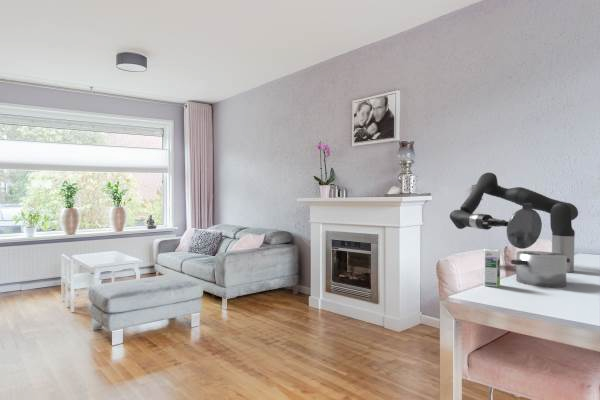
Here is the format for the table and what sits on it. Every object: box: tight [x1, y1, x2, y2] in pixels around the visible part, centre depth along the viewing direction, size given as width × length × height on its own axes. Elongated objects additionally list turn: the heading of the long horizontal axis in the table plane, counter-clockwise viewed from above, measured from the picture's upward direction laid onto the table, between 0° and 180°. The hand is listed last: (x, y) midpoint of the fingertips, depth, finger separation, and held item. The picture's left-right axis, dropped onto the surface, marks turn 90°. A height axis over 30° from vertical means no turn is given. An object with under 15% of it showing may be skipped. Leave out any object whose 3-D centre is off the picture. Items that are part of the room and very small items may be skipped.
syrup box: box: [483, 248, 501, 288], centre depth 163 cm, size 6×6×14 cm
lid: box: [506, 204, 543, 250], centre depth 177 cm, size 20×18×1 cm
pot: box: [510, 250, 570, 288], centre depth 169 cm, size 18×28×12 cm, turn 107°
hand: (508, 224), depth 186 cm, fingers closed
